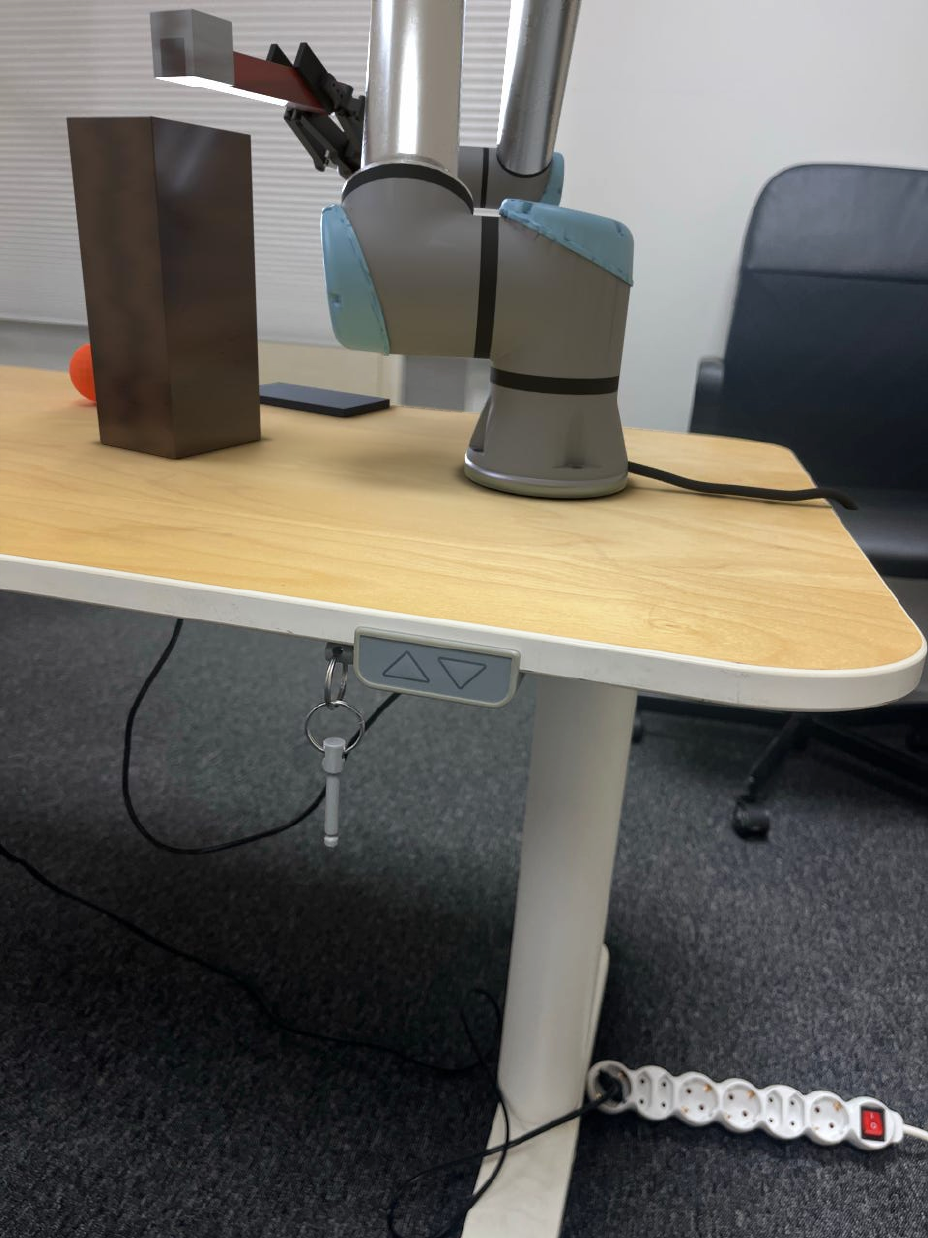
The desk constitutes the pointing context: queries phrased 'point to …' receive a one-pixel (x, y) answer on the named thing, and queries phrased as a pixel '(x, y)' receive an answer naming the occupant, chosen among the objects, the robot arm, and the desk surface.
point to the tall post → (168, 281)
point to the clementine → (83, 372)
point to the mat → (319, 399)
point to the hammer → (221, 61)
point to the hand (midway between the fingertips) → (284, 55)
